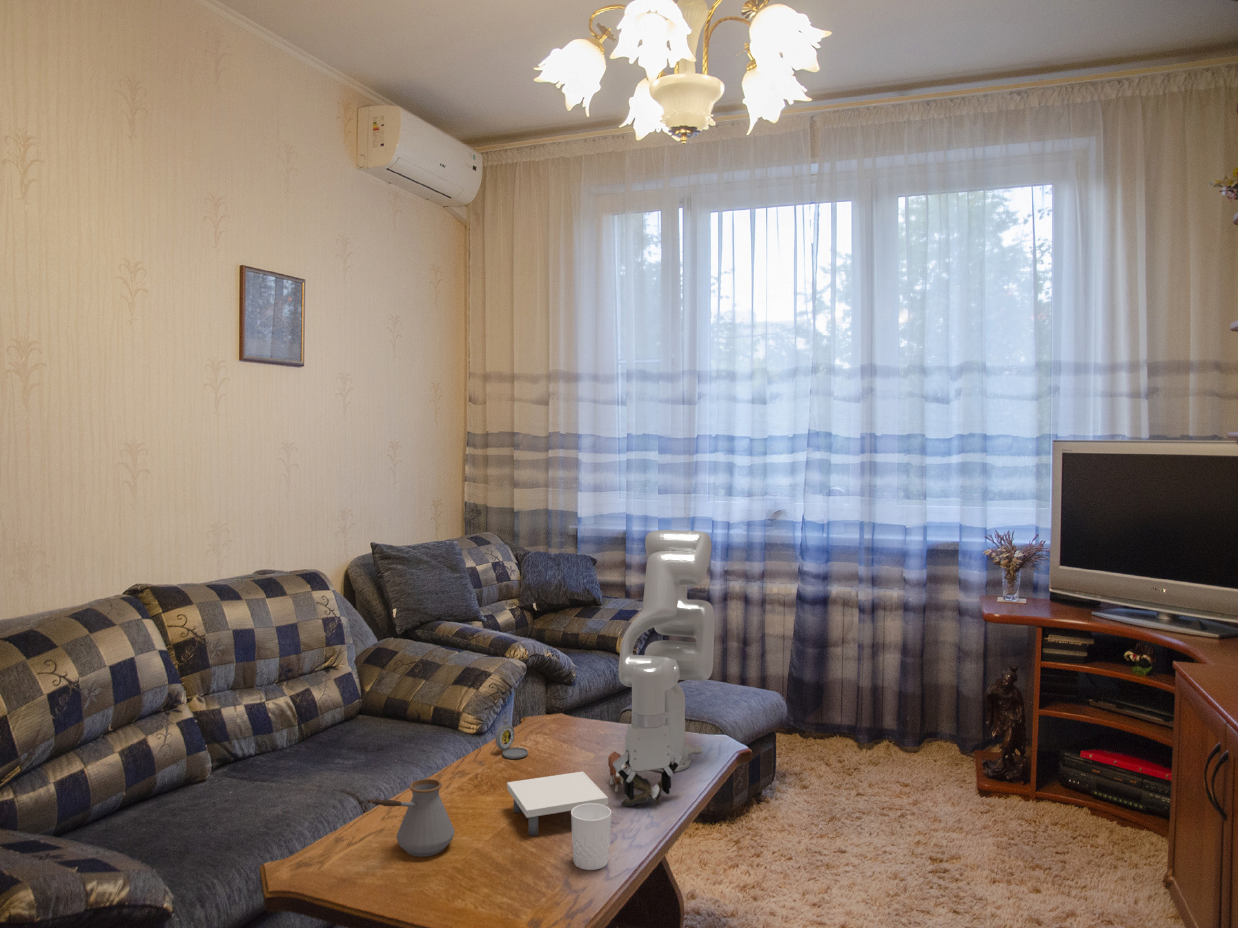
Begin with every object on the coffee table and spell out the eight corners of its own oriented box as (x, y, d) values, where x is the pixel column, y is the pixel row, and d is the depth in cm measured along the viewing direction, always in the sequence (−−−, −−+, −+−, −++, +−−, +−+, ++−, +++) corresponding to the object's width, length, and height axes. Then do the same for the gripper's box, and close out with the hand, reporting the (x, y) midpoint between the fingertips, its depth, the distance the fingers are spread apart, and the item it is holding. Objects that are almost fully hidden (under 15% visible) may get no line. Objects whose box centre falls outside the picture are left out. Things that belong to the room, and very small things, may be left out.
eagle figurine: (659, 789, 201) (621, 782, 200) (665, 770, 197) (626, 763, 196) (657, 818, 194) (618, 811, 194) (663, 799, 190) (623, 792, 190)
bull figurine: (613, 801, 197) (613, 765, 196) (606, 778, 210) (606, 745, 210) (632, 800, 197) (632, 765, 197) (624, 777, 210) (624, 744, 210)
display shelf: (582, 796, 199) (582, 771, 199) (607, 825, 184) (607, 797, 184) (507, 808, 192) (507, 782, 192) (526, 839, 177) (526, 810, 177)
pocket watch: (526, 760, 222) (526, 721, 222) (493, 759, 222) (494, 721, 222) (530, 749, 230) (530, 712, 230) (498, 748, 230) (498, 711, 230)
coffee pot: (425, 830, 181) (425, 759, 181) (466, 843, 175) (466, 770, 175) (344, 872, 163) (344, 794, 163) (387, 888, 157) (387, 807, 157)
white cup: (616, 856, 170) (616, 806, 170) (602, 874, 163) (603, 822, 162) (579, 849, 173) (579, 800, 172) (564, 867, 165) (564, 816, 165)
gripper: (675, 710, 202) (674, 783, 203) (606, 718, 196) (606, 793, 196) (689, 719, 195) (689, 795, 196) (619, 728, 189) (618, 806, 189)
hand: (647, 794), depth 196 cm, fingers closed on eagle figurine, 8 cm apart
